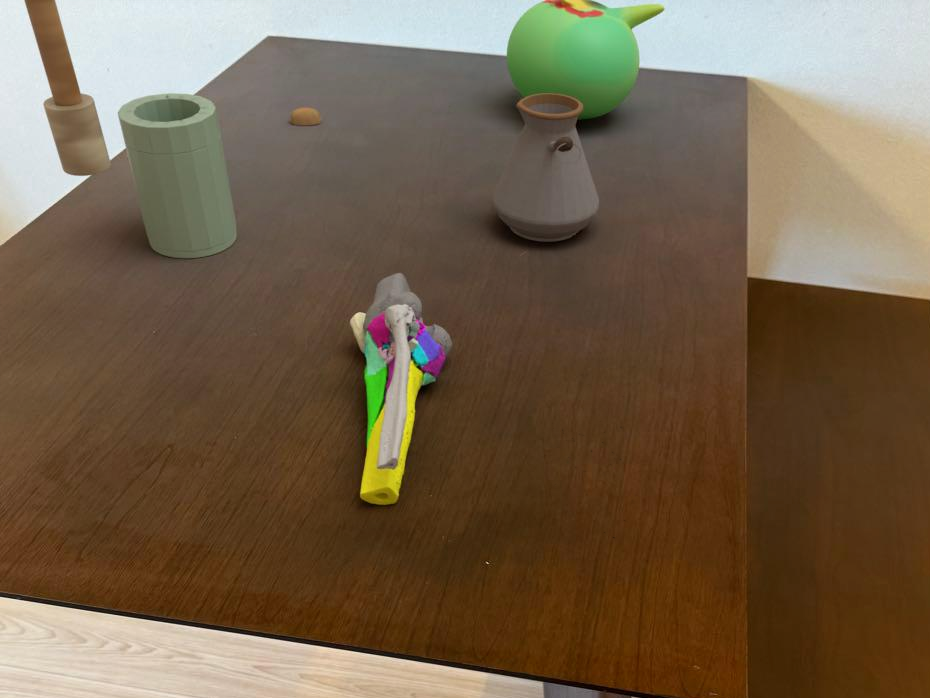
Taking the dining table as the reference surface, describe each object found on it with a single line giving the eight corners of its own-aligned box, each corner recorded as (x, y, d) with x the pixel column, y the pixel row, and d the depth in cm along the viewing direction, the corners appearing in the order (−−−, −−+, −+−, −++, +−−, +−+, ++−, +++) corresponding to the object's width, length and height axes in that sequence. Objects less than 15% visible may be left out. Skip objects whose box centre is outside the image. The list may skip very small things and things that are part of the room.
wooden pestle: (57, 176, 75) (-37, -130, 61) (70, 157, 78) (-18, -140, 64) (104, 176, 75) (20, -129, 62) (115, 157, 78) (38, -139, 64)
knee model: (364, 547, 75) (378, 337, 90) (460, 518, 72) (457, 309, 88) (301, 474, 68) (328, 261, 84) (404, 440, 66) (412, 228, 81)
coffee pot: (489, 202, 109) (491, 61, 99) (590, 203, 110) (602, 63, 100) (499, 298, 94) (503, 142, 83) (616, 297, 94) (635, 143, 84)
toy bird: (481, 105, 131) (482, -16, 121) (572, 82, 139) (580, -34, 129) (570, 148, 121) (580, 20, 111) (663, 120, 130) (679, -2, 119)
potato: (321, 125, 124) (320, 111, 123) (290, 126, 123) (288, 112, 122) (321, 117, 126) (320, 103, 125) (290, 118, 125) (288, 104, 124)
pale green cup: (140, 258, 97) (107, 126, 88) (159, 219, 103) (130, 92, 94) (229, 259, 97) (205, 128, 88) (243, 220, 104) (222, 94, 95)
